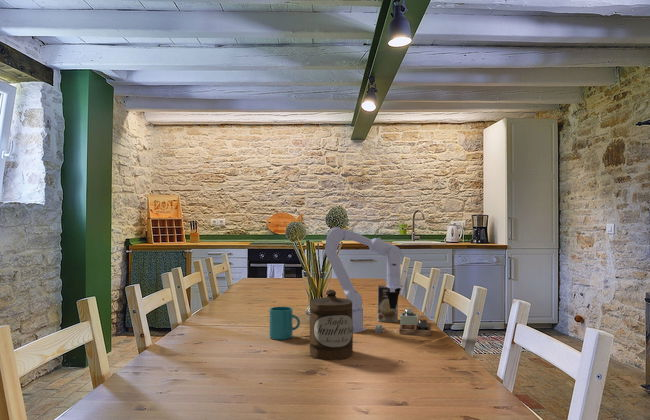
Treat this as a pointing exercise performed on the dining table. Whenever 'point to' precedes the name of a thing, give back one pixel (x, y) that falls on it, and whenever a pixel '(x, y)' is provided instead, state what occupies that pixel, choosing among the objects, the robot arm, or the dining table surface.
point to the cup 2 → (409, 319)
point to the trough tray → (414, 330)
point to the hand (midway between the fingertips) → (393, 307)
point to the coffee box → (385, 307)
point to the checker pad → (380, 329)
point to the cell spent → (408, 312)
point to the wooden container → (331, 327)
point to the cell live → (422, 322)
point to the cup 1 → (282, 323)
